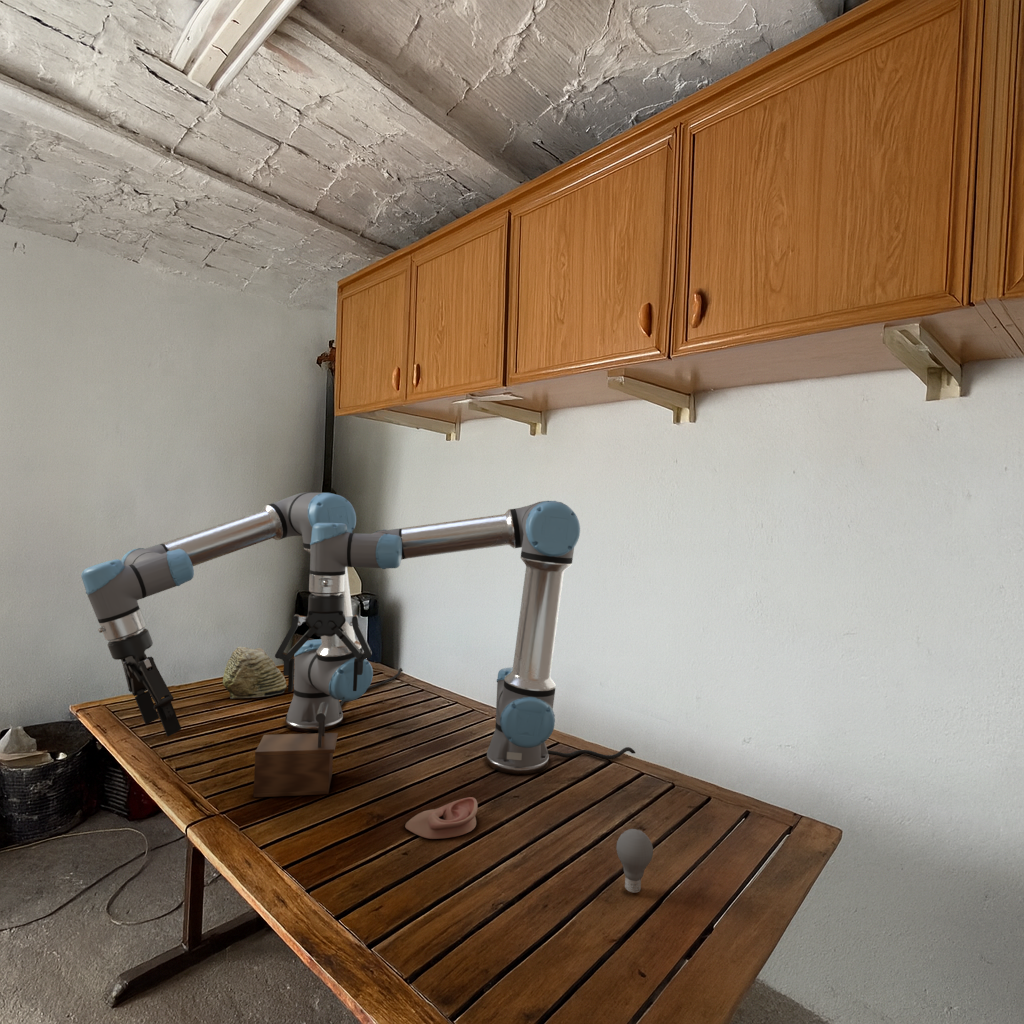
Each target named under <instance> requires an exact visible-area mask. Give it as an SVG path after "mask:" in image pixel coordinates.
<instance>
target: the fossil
mask: <svg viewBox="0 0 1024 1024" xmlns="http://www.w3.org/2000/svg"><path fill="white" fill-rule="evenodd" d="M222 676H223V677H222V685H223V687H224V688H225V690H226V691H228V693H229V698H230V699H250V698H264V697H271V696H275V695H281V694H284V693H285V691H286V689H287V688H288V684H287V680H286V678H285V677H286V676H284V674H283V672H281V669H279V668H278V667H277V665H276V663H275V662H274V660H273V659H272V658H271V657H270V656H269V655H268V654H267V653H266V652H265V650H264V649H263V648H260V647H258V648H251V647H247V646H246V647H245V646H238V647H237V648H236V649H235V650H233V651H232V653H231V656H230V657H229V659H228V660H227V663H226V666H225V668H224V671H223V675H222Z"/></svg>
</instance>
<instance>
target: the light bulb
mask: <svg viewBox="0 0 1024 1024" xmlns="http://www.w3.org/2000/svg"><path fill="white" fill-rule="evenodd" d="M615 849H616V854H617V857H618V859H619V861H620V863H621V865H622V867H623V873H624V874H623V875H624V876H625V878H624V888H625V890H627V891H628V892H630V893H634V894H635V893H639V892H640V891H641V889H642V887H641V886H642V879H643V877H644V875H645V871H646V868H647V867H648V866H649V864H650V863H651V861H652V859H653V855H654V847H653V843H652V841H651V838H649V836H648V835H647V834H646V833H645V832H643V831H642V830H641V829H636V828H629V829H627V830H625V831H623V832H622V833H621V834H620V835H619V837H618V839H617V841H616V847H615Z"/></svg>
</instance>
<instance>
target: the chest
mask: <svg viewBox="0 0 1024 1024" xmlns="http://www.w3.org/2000/svg"><path fill="white" fill-rule="evenodd" d="M333 761H334V753H325V754H294V755H263V756H255V755H254V772H253V773H254V774H253V775H254V776H253V798H271V797H272V798H273V797H295V796H319V795H329V793H330V786H331V782H332V776H333Z"/></svg>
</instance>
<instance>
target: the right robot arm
mask: <svg viewBox="0 0 1024 1024" xmlns="http://www.w3.org/2000/svg"><path fill="white" fill-rule="evenodd" d="M580 534H581V524H580V521H579V518H578V515H577V514H576V513H575V511H574V510H573V509H572V508H571V507H570V506H569V505H567V504H566V503H564V502H562V501H558V500H542V501H541V500H540V501H537V502H535V503H532V504H529V505H525V506H521V507H516V508H510V509H507V510H506V512H505V513H503V514H498V515H497V514H496V515H488V516H481V517H473V518H468V519H458V520H452V521H444V522H443V521H442V522H437V523H429V524H422V525H414V526H407V527H401V528H392V529H379V530H376V531H374V532H373V533H357V532H356V533H355V532H352V533H350V532H348V530H347V525H346V524H342V523H316V524H315V525H314V526H313V527H312V536H311V543H310V553H309V555H310V557H309V558H310V559H309V560H310V561H309V581H308V591H309V593H310V594H309V595H308V607H307V615H300V614H299V613H295V614H294V615H293V617H292V619H291V624H290V627H289V629H288V631H287V632H286V635H285V637H284V638H283V640H282V642H281V643H280V645H279V647H278V649H277V651H276V652H275V654H274V658H275V659H277V660H278V659H280V660H282V661H283V671H282V675H283V676H284V677H288V680H287V693H292V692H293V691H294V667H295V658H293V657H294V655H295V653H296V652H297V651H298V650H299V649H300V648H301V647H302V646H303V645H304V643H305V642H306V641H308V640H310V638H311V637H312V636H313V635H315V636H316V637H320V638H321V636H328V637H332V636H334V635H335V634H336V635H337V636H338V637H339V638H340V639H341V640H342V642H343V643H344V644H345V645H346V646H347V647H348V649H349V650H350V651H351V652H352V653H353V655H354V656H355V657H356V658H357V659H355V660H354V677H353V691H357V675H362V673H363V661H364V659H366V660H367V659H371V658H372V655H373V652H372V649H371V647H370V645H369V643H368V641H367V639H366V636H365V635H364V633H363V630H362V628H361V626H360V623H359V615H358V614H353V616H347V617H345V615H344V595H343V594H342V592H344V591H345V568H346V567H347V568H367V569H368V568H369V569H382V570H386V569H397V568H399V567H400V566H401V563H402V560H408V559H414V558H422V557H431V556H437V555H446V554H453V553H460V552H468V551H474V550H482V549H489V548H490V549H491V548H497V547H504V546H510V547H511V548H512V549H519V548H521V551H520V559H521V561H522V562H523V563H524V565H525V571H524V579H523V587H522V595H521V602H520V609H519V618H518V626H517V631H516V633H517V634H516V641H515V647H514V655H513V656H514V657H513V664H512V666H511V667H503V668H501V669H499V670H498V672H497V679H496V702H495V703H496V707H495V726H494V727H495V728H494V732H493V735H492V738H491V740H490V743H489V744H488V745H489V746H488V748H487V751H486V764H487V765H488V766H489V767H490V768H492V769H494V770H495V771H498V772H500V773H505V774H510V775H529V774H530V775H531V774H536V773H540V772H542V771H544V770H546V769H547V767H548V766H549V759H550V757H549V756H556V757H561V758H573V757H575V756H579V755H590V756H593V757H597V758H599V759H603V760H614V759H618V758H619V757H621V756H622V755H624V754H625V753H627V752H629V753H631V754H636V751H635V749H633V748H631V747H629V746H626V747H623V748H622V749H621V750H619V751H618V752H616V753H614V754H611V755H610V754H603V753H599V752H597V751H593V750H589V749H578V750H577V749H576V750H574V751H572V752H567V753H565V752H561V751H556V750H549V749H548V748H547V744H546V742H547V741H548V739H549V738H551V735H552V734H553V732H554V729H555V723H556V716H555V715H556V714H555V712H554V705H555V704H554V703H555V695H556V686H557V685H556V683H555V682H554V680H553V678H552V677H551V674H552V666H553V658H554V651H555V644H556V643H555V642H556V635H557V628H558V621H559V613H560V606H561V597H562V589H563V583H564V574H565V571H566V570H567V569H569V568H570V567H571V566H572V565H573V559H574V552H575V547H576V545H577V543H579V539H580ZM345 622H348V623H349V625H350V626H353V630H354V632H355V637H356V639H357V640H358V641H359V642H360V644H361V647H362V649H363V653H362V652H361V651H360V650H359V649H358V647H357V646H356V645H355V644H354V643H353V641H352V640H351V639H350V638H349V637H348V635H347V634H346V633H345V631H344V630H343V629H342V628H341V627H342V626H343V625H344V623H345ZM304 623H305V624H306V625H307V626H308V630H307V631H306V632H305V633H304V634H303V635H302V636H301V638H300V639H298V641H297V642H296V643H295V644H294V645H293V646H292V647H290V649H289V650H288V652H285V651H286V649H287V647H288V645H289V643H290V642H291V640H292V638H293V636H294V635H295V633H296V631H297V630H298V627H300V626H302V624H304Z"/></svg>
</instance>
